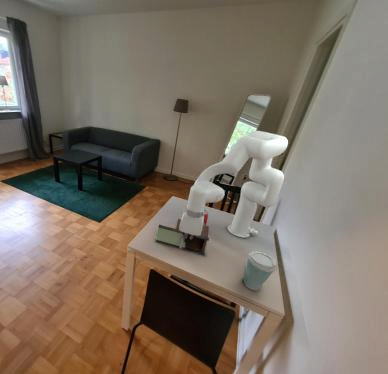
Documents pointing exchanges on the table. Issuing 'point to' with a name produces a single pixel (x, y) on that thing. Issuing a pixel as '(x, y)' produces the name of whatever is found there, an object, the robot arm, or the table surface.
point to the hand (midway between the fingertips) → (186, 243)
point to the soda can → (205, 217)
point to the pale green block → (171, 237)
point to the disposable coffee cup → (258, 269)
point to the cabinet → (196, 243)
